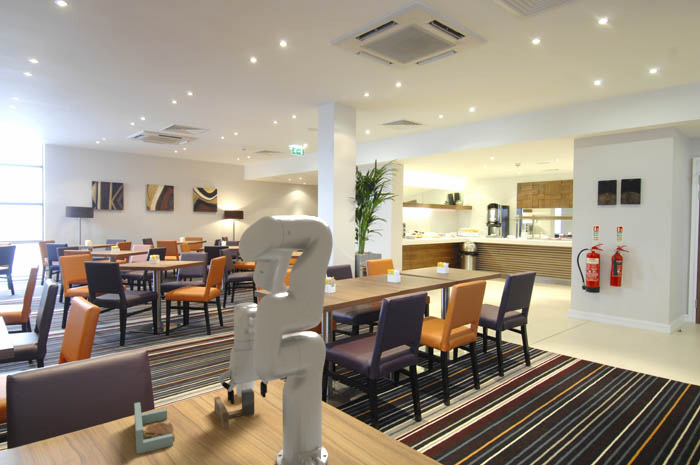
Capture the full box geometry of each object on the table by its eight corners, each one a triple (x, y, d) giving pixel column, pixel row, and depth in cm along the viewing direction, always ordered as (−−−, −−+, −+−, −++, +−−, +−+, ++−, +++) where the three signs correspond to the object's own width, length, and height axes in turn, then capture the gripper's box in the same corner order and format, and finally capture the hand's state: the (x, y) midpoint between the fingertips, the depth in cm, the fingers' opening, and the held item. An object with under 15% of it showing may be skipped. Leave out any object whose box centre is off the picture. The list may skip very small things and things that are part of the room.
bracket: (173, 445, 108) (172, 422, 108) (136, 454, 104) (136, 430, 104) (166, 416, 124) (166, 397, 123) (134, 423, 119) (134, 403, 119)
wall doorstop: (258, 420, 122) (258, 398, 121) (223, 428, 117) (223, 405, 116) (247, 403, 133) (247, 383, 133) (214, 410, 128) (214, 389, 128)
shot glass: (230, 396, 138) (230, 376, 138) (241, 388, 144) (241, 369, 144) (248, 399, 136) (248, 378, 136) (259, 391, 142) (259, 371, 142)
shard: (174, 443, 110) (174, 436, 110) (142, 450, 106) (142, 443, 106) (171, 425, 119) (171, 419, 119) (142, 431, 116) (142, 425, 116)
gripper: (270, 337, 133) (271, 389, 133) (215, 344, 125) (216, 400, 125) (278, 342, 127) (278, 397, 127) (220, 351, 118) (221, 410, 119)
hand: (247, 399), depth 126 cm, fingers open, 9 cm apart
